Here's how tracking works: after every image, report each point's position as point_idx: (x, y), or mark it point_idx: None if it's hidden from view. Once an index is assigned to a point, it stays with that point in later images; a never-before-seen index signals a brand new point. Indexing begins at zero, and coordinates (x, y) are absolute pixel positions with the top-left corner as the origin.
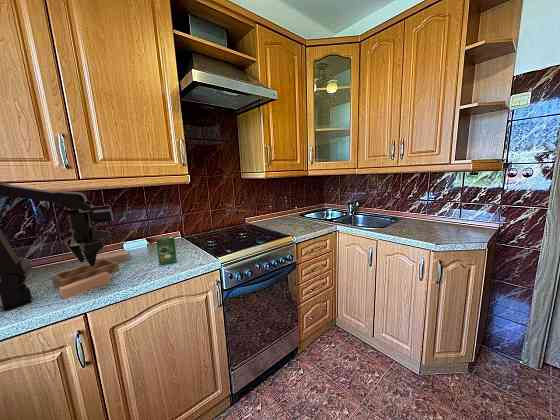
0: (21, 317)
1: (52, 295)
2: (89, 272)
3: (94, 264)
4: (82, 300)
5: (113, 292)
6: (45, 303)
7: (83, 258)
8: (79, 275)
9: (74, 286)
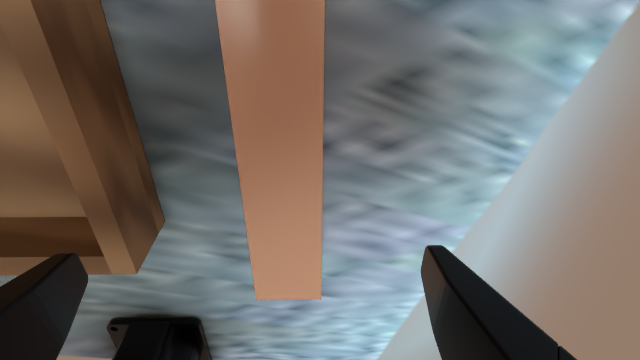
0: (335, 351)
1: (191, 263)
2: (73, 94)
3: (454, 258)
4: (442, 213)
5: (563, 75)
6: None
7: (42, 292)
8: (99, 174)
9: (321, 248)
